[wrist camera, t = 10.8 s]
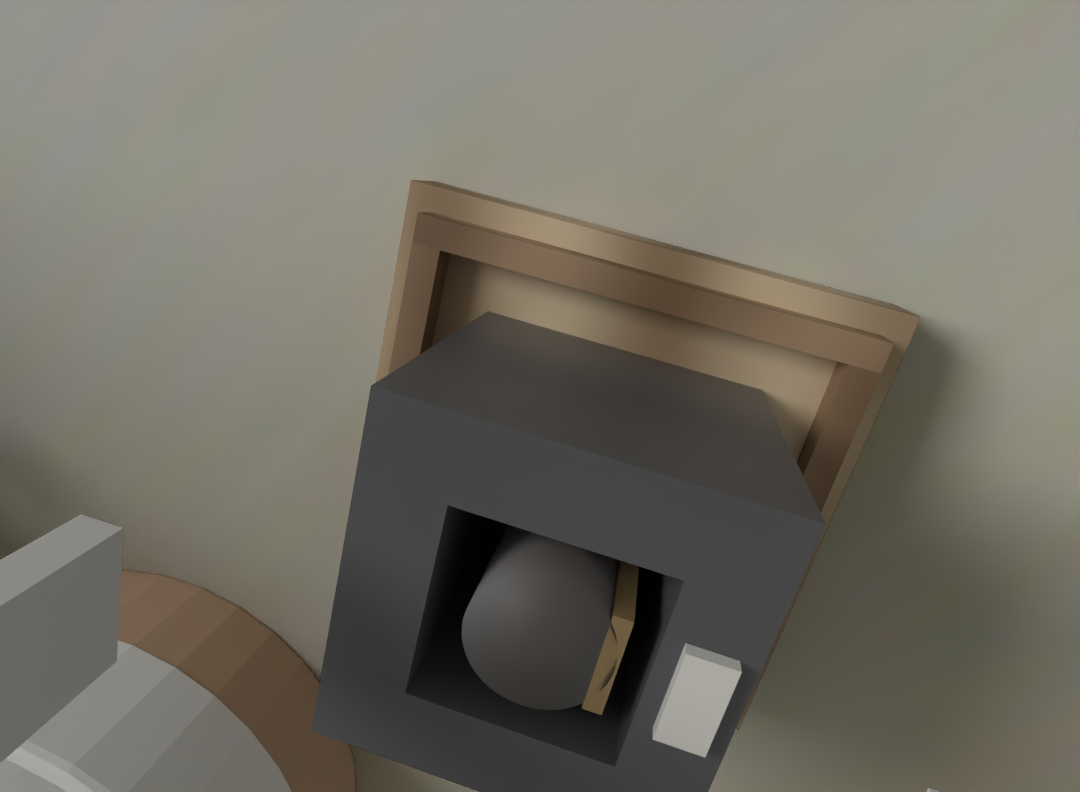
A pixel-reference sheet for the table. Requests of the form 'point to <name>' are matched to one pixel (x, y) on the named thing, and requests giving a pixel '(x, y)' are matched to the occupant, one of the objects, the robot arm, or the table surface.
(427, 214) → the plate
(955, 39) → the table surface
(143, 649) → the bowl
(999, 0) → the table surface
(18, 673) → the robot arm
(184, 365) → the table surface
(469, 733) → the hollow dark grey cube
